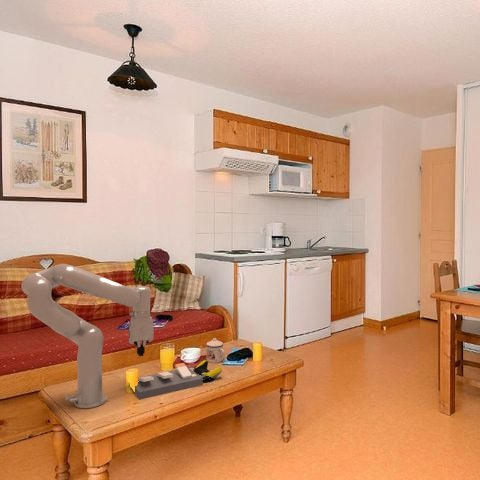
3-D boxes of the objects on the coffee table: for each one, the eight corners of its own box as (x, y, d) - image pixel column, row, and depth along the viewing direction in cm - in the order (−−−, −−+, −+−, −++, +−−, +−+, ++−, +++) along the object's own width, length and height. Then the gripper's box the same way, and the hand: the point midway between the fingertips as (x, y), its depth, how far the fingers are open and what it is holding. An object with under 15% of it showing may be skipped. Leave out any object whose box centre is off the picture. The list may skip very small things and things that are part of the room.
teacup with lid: (202, 360, 216) (202, 338, 215) (215, 356, 223) (215, 335, 222) (217, 365, 208) (217, 343, 207) (230, 361, 214) (230, 339, 214)
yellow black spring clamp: (205, 369, 203) (188, 374, 197) (205, 358, 203) (188, 363, 196) (223, 378, 191) (206, 383, 185) (223, 367, 191) (206, 372, 185)
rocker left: (143, 381, 172) (143, 378, 173) (137, 380, 181) (136, 377, 181) (153, 379, 175) (153, 376, 175) (146, 378, 183) (146, 375, 183)
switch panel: (139, 399, 169) (139, 390, 168) (128, 385, 182) (128, 377, 182) (202, 384, 183) (202, 376, 183) (188, 373, 197) (188, 365, 197)
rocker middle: (163, 378, 177) (163, 375, 177) (156, 375, 186) (156, 372, 186) (173, 376, 179) (173, 373, 179) (165, 373, 188) (165, 370, 188)
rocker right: (182, 379, 182) (183, 376, 182) (174, 366, 190) (175, 364, 190) (191, 377, 184) (192, 374, 184) (183, 365, 192) (183, 362, 192)
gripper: (126, 317, 173) (126, 360, 173) (160, 314, 180) (159, 355, 181) (122, 314, 179) (121, 355, 180) (154, 311, 187) (154, 350, 187)
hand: (140, 355), depth 180 cm, fingers closed
